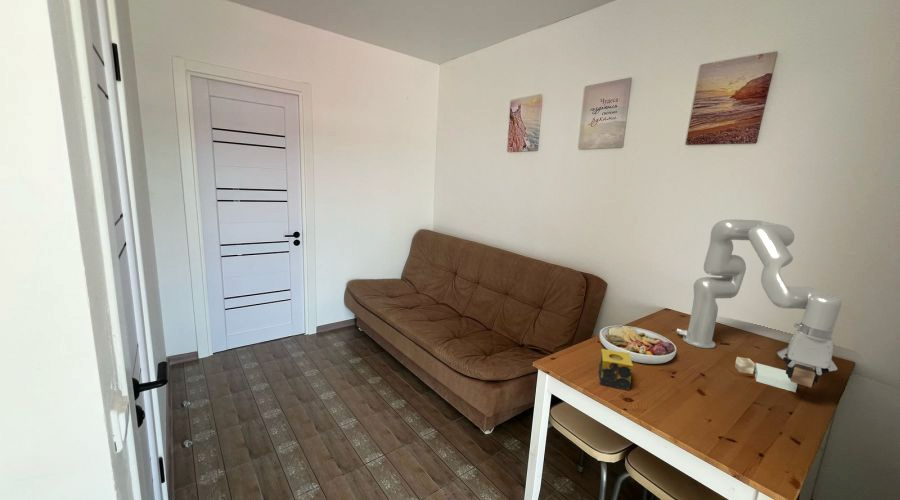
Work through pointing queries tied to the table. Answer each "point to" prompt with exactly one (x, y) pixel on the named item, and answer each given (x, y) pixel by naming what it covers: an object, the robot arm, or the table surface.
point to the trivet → (774, 377)
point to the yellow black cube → (615, 369)
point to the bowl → (638, 344)
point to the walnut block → (803, 375)
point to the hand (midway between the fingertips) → (800, 379)
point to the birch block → (744, 365)
